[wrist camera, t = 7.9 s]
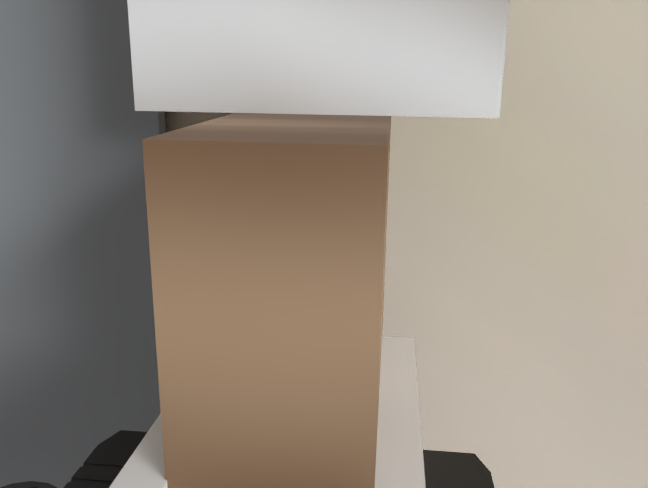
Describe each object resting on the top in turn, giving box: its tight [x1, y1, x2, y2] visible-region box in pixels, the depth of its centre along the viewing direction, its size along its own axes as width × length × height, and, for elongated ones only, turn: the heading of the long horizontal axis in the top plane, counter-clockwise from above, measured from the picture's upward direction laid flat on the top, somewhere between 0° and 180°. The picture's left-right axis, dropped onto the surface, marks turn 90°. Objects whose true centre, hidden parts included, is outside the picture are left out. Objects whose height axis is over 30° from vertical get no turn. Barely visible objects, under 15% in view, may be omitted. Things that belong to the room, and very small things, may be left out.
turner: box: [127, 0, 510, 488], centre depth 11 cm, size 20×7×6 cm, turn 179°
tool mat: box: [0, 0, 166, 488], centre depth 18 cm, size 22×8×1 cm, turn 179°
